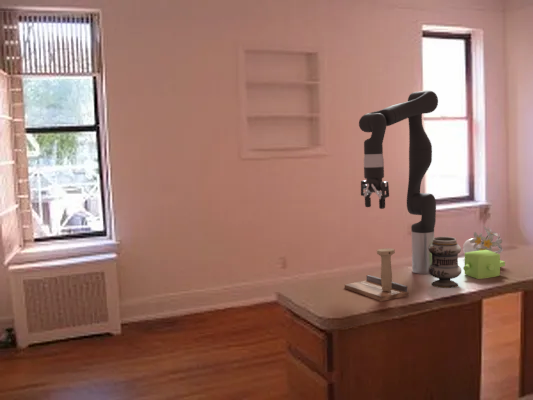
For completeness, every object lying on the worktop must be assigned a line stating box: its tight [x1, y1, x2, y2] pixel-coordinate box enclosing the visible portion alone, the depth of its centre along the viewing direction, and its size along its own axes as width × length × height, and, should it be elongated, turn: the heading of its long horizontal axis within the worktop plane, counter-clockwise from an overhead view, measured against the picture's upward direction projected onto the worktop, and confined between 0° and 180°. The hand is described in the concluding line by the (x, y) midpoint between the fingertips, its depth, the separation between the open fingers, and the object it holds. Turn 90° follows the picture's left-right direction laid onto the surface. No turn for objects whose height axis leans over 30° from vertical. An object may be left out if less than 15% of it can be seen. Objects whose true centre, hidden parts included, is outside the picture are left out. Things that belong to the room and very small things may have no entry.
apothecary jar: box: [428, 236, 462, 289], centre depth 213 cm, size 12×12×18 cm
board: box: [344, 274, 409, 302], centre depth 208 cm, size 12×22×4 cm, turn 28°
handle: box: [376, 247, 395, 291], centre depth 202 cm, size 5×6×15 cm
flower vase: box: [462, 225, 504, 254], centre depth 249 cm, size 13×18×25 cm
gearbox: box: [463, 250, 506, 280], centre depth 224 cm, size 18×10×10 cm, turn 106°
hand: (374, 207), depth 217 cm, fingers open, 8 cm apart
